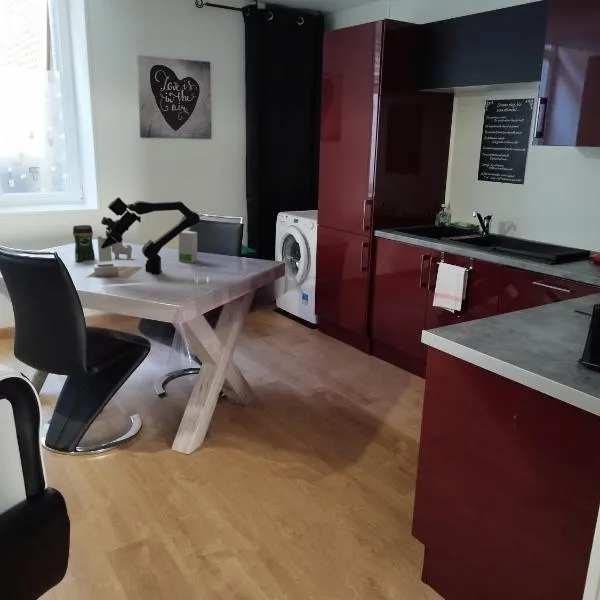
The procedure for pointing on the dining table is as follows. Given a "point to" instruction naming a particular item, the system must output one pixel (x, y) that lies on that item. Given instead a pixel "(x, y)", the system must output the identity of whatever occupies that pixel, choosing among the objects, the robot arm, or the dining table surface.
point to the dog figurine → (121, 250)
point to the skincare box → (188, 246)
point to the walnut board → (120, 272)
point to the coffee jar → (83, 243)
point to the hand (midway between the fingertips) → (101, 247)
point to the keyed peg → (104, 250)
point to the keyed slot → (105, 269)
